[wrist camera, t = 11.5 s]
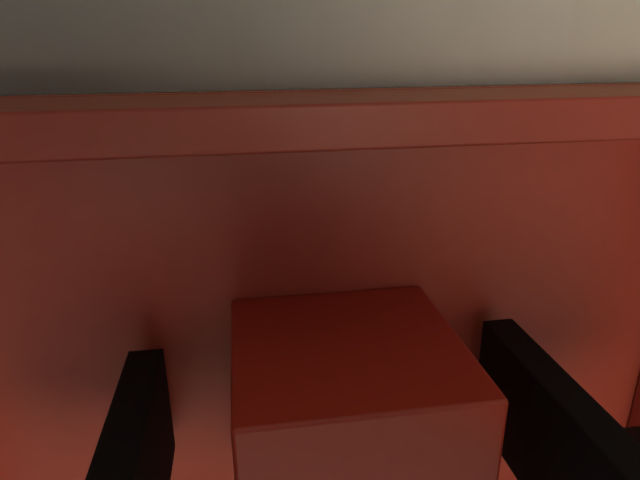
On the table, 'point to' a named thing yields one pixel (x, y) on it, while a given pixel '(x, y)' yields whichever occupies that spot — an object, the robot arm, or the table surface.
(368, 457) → the red block
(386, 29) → the table surface
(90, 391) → the red tray
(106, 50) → the table surface
